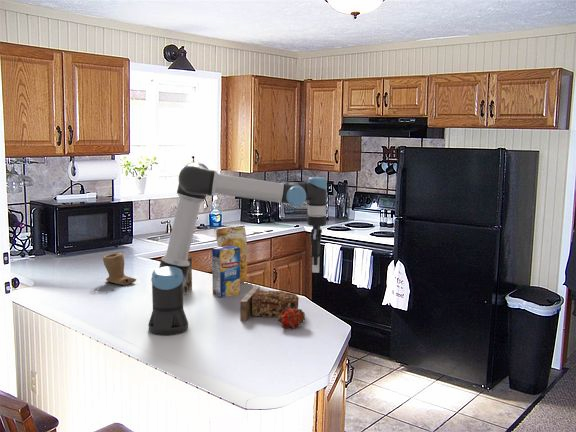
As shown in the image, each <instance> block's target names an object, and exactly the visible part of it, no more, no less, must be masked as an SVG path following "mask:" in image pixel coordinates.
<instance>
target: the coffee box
mask: <svg viewBox="0 0 576 432" xmlns="http://www.w3.org/2000/svg"><path fill="white" fill-rule="evenodd" d="M187 260H188V262H189V263H190V266H189V270H188V274H187V281H186V284H185V286H184V288H183V296H185V295H187V294H188V293H190V292H191V291H192V290H193V271H192V270H193V266H192V265H193V263H192V262H193V261H192V260H193V258H192V257H190V256H188V258H187Z"/></svg>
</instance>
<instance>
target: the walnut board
mask: <svg viewBox="0 0 576 432" xmlns="http://www.w3.org/2000/svg"><path fill="white" fill-rule="evenodd" d="M257 291H261V287H260V286H253V287H252V288H251V289H250V290H249V291H248V293H246V295H245V296H244V297H243V298H242V299H241V300H239V301H240V302H239V303H240V304H239V305H240V308H239V310H240V314H239V315H240V316H239V317H240V318H239V320H240V321H243V322H246V321H248V320H249V319H250V317H251V316H252V315H253V314H252V297H253V294H254V293H255V292H257Z"/></svg>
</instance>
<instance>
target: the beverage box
mask: <svg viewBox="0 0 576 432" xmlns="http://www.w3.org/2000/svg"><path fill="white" fill-rule="evenodd" d="M211 250H212V252H211V253H212V254H211V255H212V256H211V258H212V259H211V260H212V261H211V262H212V266H211V267H212V271H211V272H212V273H211V274H212V278H211V279H212V295H213V296H217V297H218V298H224V297H225V298H226V297H230V296H235V295H239V294H241V282H240V248H239V247H235V246H232V245H231V246H224V247H218V246H217V247H212V249H211Z"/></svg>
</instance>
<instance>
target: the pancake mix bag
mask: <svg viewBox="0 0 576 432" xmlns="http://www.w3.org/2000/svg"><path fill="white" fill-rule="evenodd" d="M215 234H216V236H215V237H216V242H217V247H224V246H231V245H232V246H235V247H239V248H240V283H244V282H246V281H247V280H248V242H247V235H246V234H247V233H246V228H245V227H244V226H243V225H239V226H228V227H221V228H217V230H216V231H215Z"/></svg>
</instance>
